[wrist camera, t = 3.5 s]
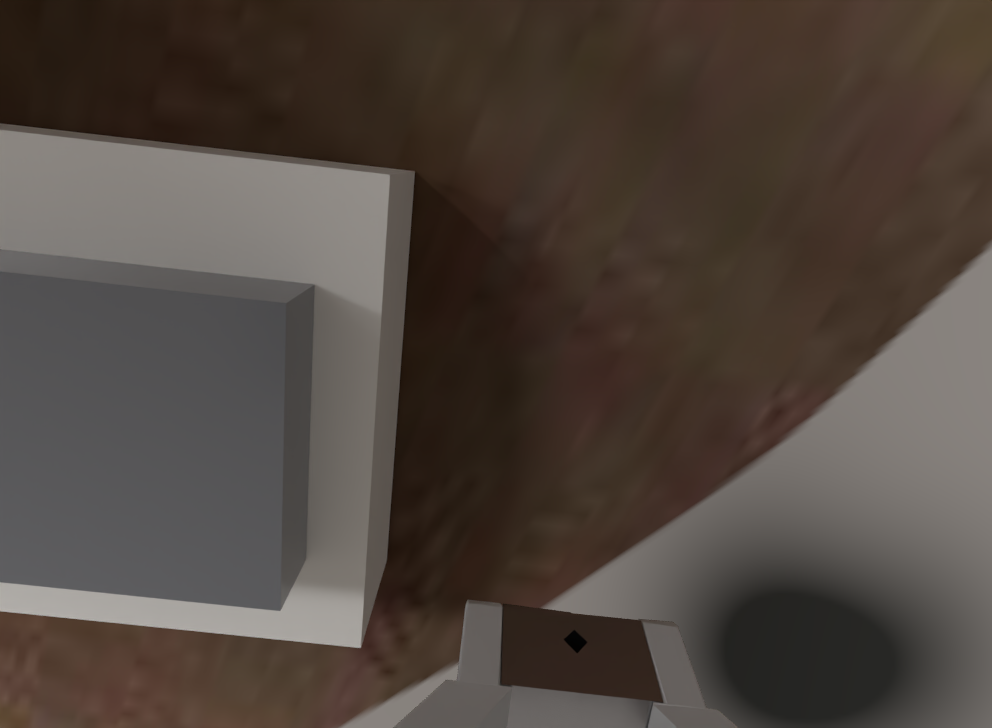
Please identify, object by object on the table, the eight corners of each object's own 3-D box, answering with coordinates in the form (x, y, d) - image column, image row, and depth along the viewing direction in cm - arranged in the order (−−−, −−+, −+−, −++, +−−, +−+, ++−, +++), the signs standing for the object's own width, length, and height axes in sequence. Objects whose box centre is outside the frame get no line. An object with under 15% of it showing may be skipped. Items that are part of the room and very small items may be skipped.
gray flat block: (-57, 521, 17) (-130, 569, 15) (-100, 237, 15) (-190, 250, 13) (306, 559, 17) (280, 611, 15) (314, 284, 15) (286, 302, 13)
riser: (-185, 500, 21) (-339, 576, 17) (-272, 91, 18) (-488, 73, 14) (386, 560, 21) (360, 647, 18) (414, 171, 18) (389, 174, 14)
